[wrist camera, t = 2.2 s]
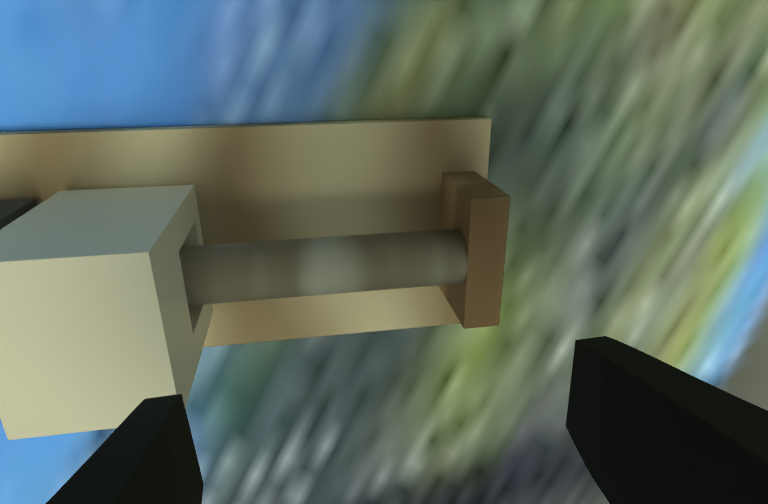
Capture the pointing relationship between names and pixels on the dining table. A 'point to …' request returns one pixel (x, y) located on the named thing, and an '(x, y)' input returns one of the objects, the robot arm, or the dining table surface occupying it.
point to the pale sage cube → (96, 308)
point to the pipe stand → (306, 217)
